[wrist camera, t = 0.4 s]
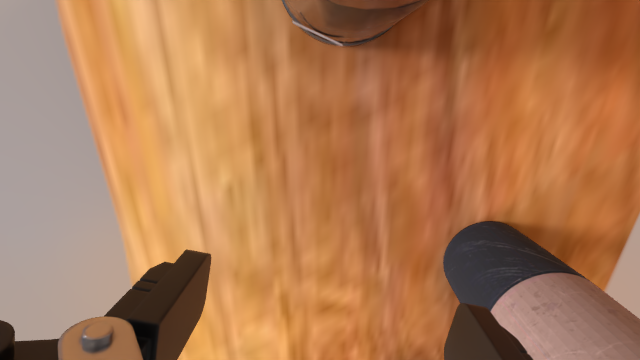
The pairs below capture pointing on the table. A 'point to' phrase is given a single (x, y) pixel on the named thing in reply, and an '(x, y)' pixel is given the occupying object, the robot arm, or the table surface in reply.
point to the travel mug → (538, 296)
